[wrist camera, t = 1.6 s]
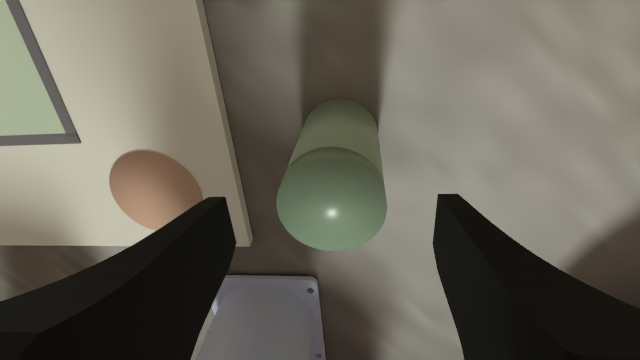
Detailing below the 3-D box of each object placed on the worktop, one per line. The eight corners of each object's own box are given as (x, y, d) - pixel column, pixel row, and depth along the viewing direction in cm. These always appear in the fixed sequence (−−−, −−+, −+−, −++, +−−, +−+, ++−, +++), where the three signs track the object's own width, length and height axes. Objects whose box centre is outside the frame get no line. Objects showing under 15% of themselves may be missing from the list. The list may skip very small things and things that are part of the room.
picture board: (252, 238, 23) (249, 247, 22) (-16, 238, 25) (-28, 246, 24) (178, -114, 14) (167, -121, 13) (-221, -64, 17) (-250, -66, 16)
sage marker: (377, 167, 19) (385, 251, 13) (306, 169, 20) (283, 251, 14) (378, 96, 18) (387, 157, 11) (299, 100, 18) (269, 160, 12)
